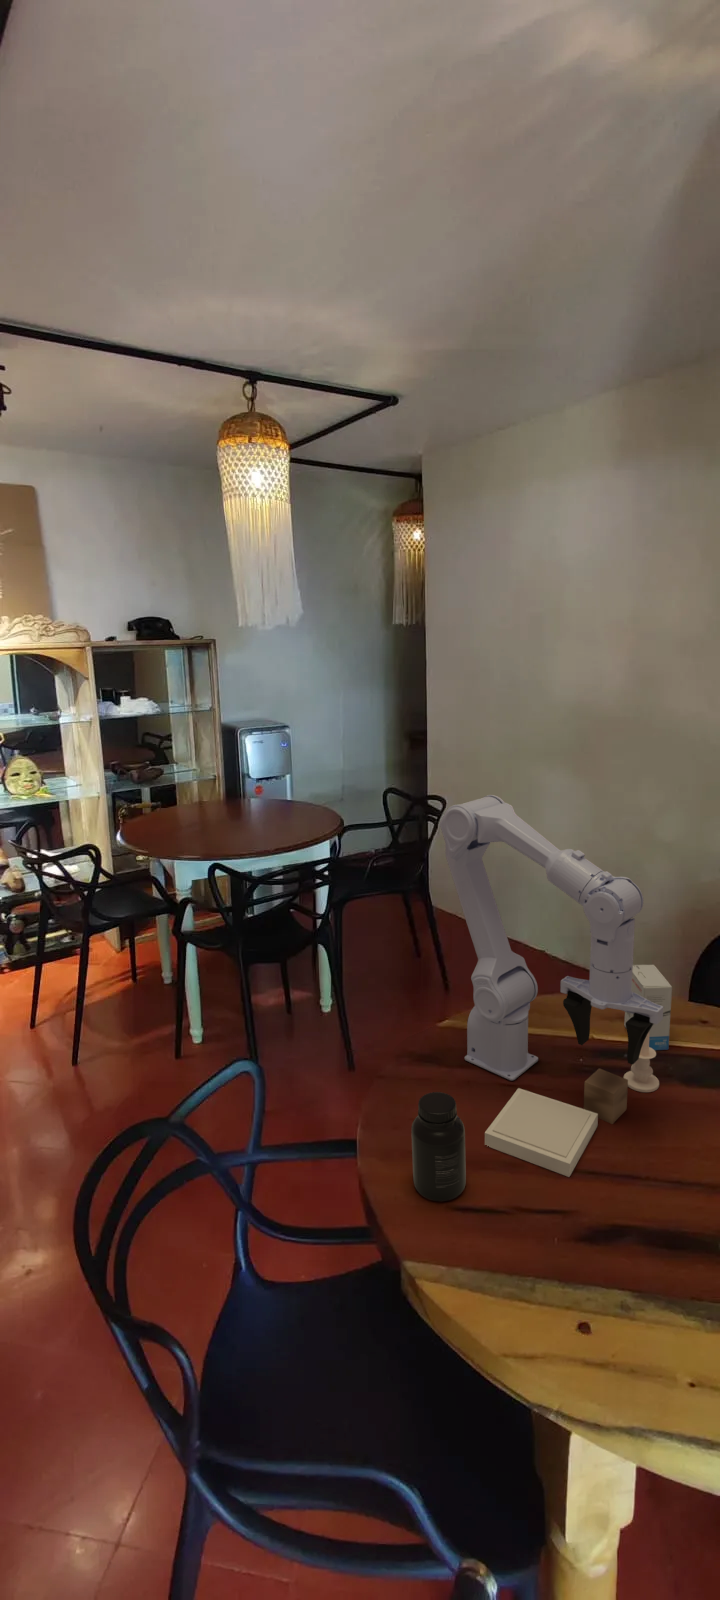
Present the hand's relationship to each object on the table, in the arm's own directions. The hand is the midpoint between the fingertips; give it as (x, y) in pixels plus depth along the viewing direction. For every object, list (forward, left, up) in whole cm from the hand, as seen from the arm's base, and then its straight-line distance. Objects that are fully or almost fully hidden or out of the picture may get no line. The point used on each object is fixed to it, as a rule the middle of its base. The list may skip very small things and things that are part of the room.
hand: (607, 1051), depth 110 cm
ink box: (-4, +23, -10) cm, 25 cm away
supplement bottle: (-9, -28, -10) cm, 31 cm away
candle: (+1, +10, -10) cm, 14 cm away
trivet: (-4, -11, -10) cm, 15 cm away
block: (0, 0, -10) cm, 10 cm away
